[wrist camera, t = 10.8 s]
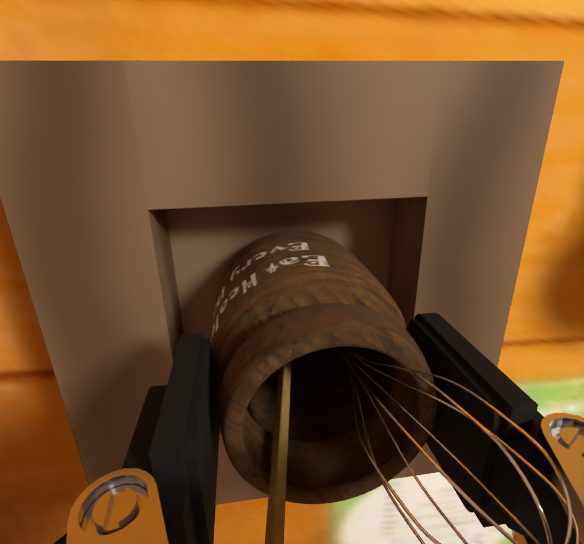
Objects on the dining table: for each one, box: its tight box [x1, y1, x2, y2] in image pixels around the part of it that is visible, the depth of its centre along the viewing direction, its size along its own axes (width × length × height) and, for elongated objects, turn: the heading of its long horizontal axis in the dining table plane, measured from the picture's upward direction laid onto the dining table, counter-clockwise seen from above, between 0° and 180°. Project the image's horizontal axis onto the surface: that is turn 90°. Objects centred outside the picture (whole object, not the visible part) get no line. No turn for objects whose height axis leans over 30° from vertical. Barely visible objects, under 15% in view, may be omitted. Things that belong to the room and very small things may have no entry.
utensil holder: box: [211, 230, 580, 544], centre depth 9 cm, size 6×6×12 cm
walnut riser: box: [0, 61, 564, 505], centre depth 15 cm, size 16×16×6 cm
